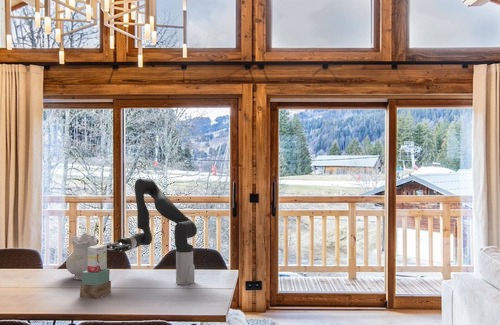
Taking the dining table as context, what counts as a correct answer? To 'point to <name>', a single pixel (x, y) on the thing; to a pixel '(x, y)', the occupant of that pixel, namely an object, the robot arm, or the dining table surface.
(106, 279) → the green block
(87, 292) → the walnut block
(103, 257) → the ink box
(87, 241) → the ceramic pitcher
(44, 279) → the dining table surface
